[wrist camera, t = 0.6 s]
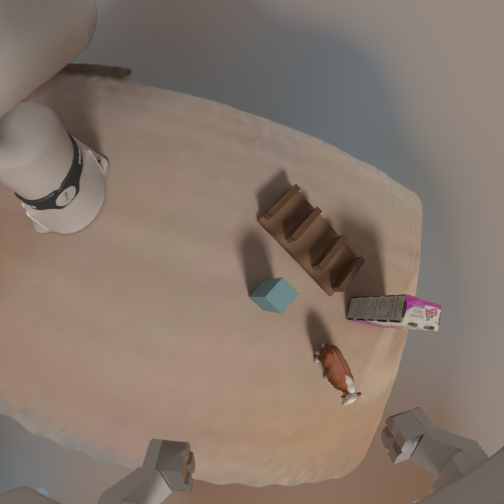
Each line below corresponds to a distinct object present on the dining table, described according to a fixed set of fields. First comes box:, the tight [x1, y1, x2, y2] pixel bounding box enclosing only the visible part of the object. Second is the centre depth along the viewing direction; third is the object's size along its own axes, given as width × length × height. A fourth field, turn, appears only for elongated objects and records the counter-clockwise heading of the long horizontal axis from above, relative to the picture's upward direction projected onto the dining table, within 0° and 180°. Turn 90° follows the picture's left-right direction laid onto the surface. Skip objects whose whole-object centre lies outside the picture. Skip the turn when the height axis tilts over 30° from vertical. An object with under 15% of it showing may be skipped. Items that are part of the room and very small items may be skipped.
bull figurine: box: [314, 343, 361, 406], centre depth 46 cm, size 4×13×8 cm, turn 23°
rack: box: [258, 184, 365, 296], centre depth 51 cm, size 20×10×4 cm, turn 47°
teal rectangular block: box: [249, 277, 298, 313], centre depth 44 cm, size 4×4×9 cm
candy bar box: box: [347, 294, 441, 331], centre depth 46 cm, size 11×5×16 cm, turn 75°
